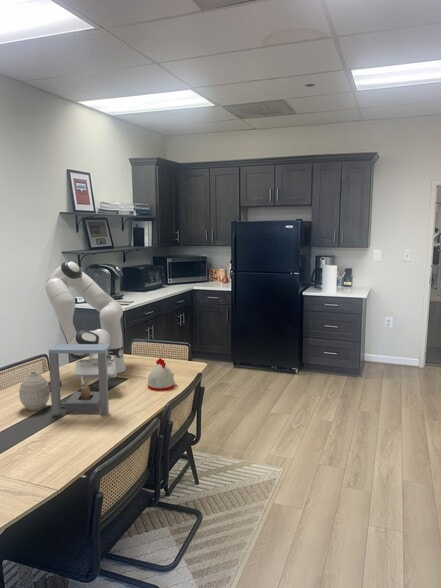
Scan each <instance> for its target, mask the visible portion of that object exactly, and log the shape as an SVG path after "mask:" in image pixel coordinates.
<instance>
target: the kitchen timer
mask: <svg viewBox="0 0 441 588" xmlns="http://www.w3.org/2000/svg"><path fill="white" fill-rule="evenodd" d="M155 362H156V366H154V367H153V368H152V369H151V372H150V373H149V374H148V379H147V388H148V389H149V390H150V391H154V392H164V391H165V392H166V391H171V390H172V389H174V388H175V383H176V382H175V378H174V377H175V376H174V372H173V371H171V369H170V368H169V367H168V366H167V365H166V363H167V362H165V359H163V358H161V357H159V358H158V359H156V361H155Z"/></svg>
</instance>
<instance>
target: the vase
mask: <svg viewBox="0 0 441 588" xmlns="http://www.w3.org/2000/svg"><path fill="white" fill-rule="evenodd" d="M47 381H48V380H47V379H46V378H45V377H44V376H43V375H41V374H40V373H39V372H38V371H30V372H29V373H28V375H27V376H26V377H25V378H24V379H23V380H22V382H21V384H20V386H19V389H18V394H19V395H18V396H19V397H18V398H19V401H20V403H21V404H22V405H23V407H24V408H26V409H27V411H30V412H31V411H32V412H35V411H40V410H42V409H43V408H44V407H45V406H46V405H47V404H48V401H49V399H50V397H51V392H50V388H49V384H48V382H49V381H48V382H47Z"/></svg>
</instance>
